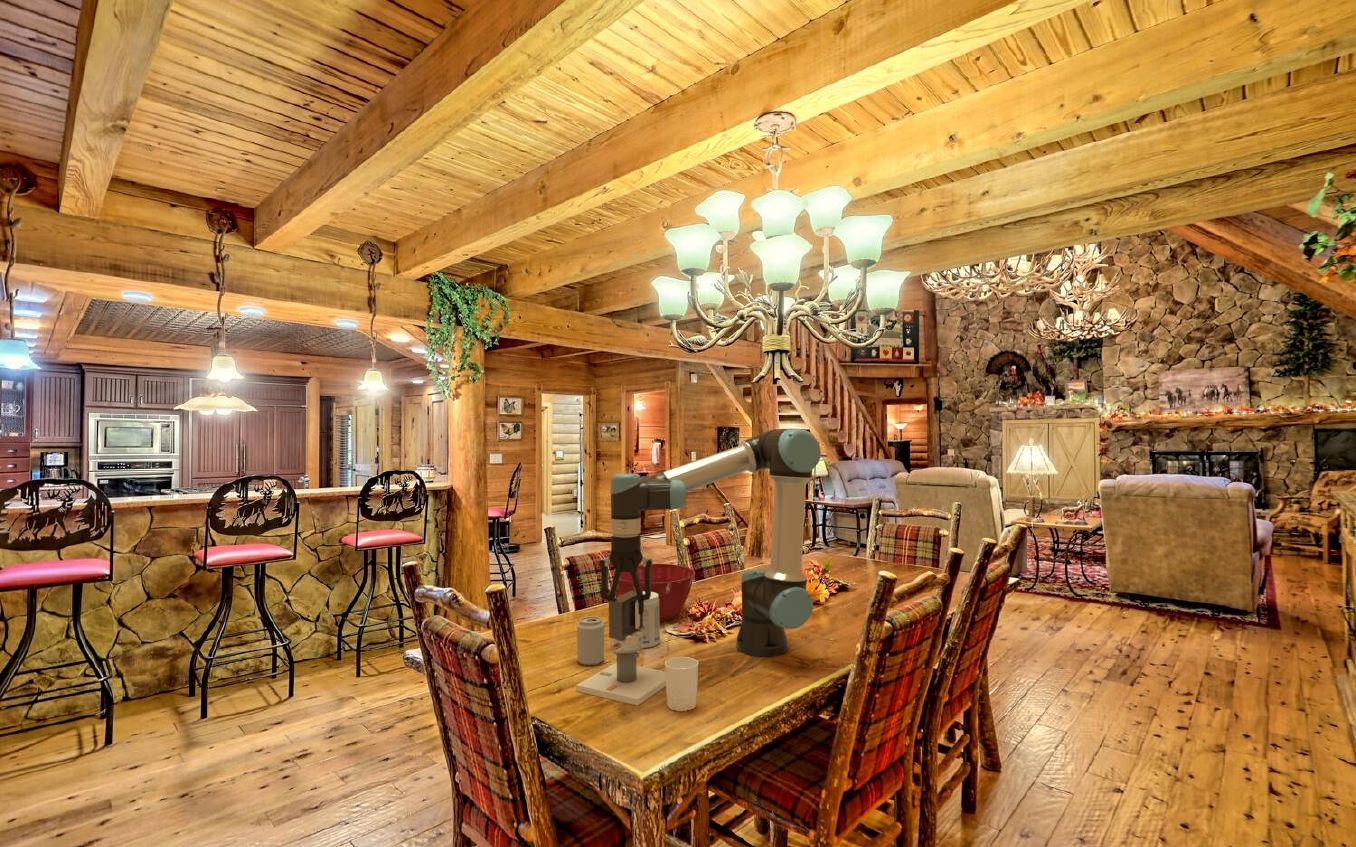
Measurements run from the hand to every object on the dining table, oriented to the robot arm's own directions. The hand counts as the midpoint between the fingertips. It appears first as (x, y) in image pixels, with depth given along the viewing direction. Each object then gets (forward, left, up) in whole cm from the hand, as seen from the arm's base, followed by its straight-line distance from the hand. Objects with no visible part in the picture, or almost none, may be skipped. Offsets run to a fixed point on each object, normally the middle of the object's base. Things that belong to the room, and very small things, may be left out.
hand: (626, 626), depth 160 cm
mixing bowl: (+25, -55, -15) cm, 62 cm away
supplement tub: (+13, -29, -15) cm, 35 cm away
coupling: (0, +1, -5) cm, 5 cm away
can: (+18, -9, -15) cm, 25 cm away
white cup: (-18, +4, -15) cm, 24 cm away
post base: (0, 0, -15) cm, 15 cm away
